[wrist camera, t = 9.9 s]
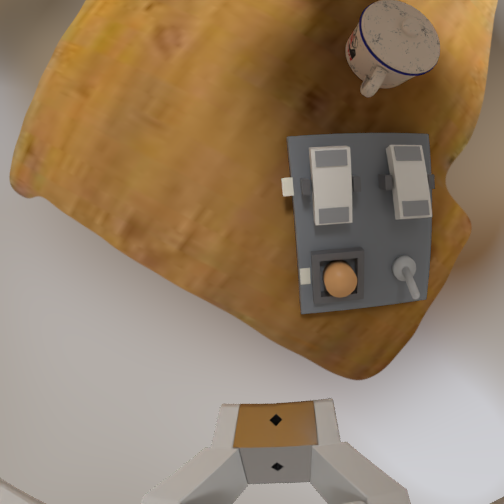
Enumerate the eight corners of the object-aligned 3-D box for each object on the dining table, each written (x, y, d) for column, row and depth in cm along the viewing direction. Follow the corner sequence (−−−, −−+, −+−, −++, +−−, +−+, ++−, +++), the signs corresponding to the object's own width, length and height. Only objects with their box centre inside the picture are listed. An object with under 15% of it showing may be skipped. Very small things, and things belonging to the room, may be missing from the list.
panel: (277, 139, 35) (277, 133, 27) (418, 135, 33) (449, 131, 25) (291, 304, 41) (294, 336, 33) (417, 290, 39) (442, 317, 31)
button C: (321, 261, 35) (325, 268, 33) (352, 258, 35) (357, 265, 32) (322, 290, 36) (325, 298, 34) (352, 287, 36) (356, 295, 33)
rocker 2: (385, 148, 31) (390, 144, 29) (416, 148, 31) (422, 144, 29) (395, 219, 31) (400, 218, 29) (426, 217, 31) (432, 216, 29)
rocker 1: (308, 147, 30) (310, 149, 29) (346, 145, 30) (350, 147, 28) (313, 220, 34) (315, 226, 32) (348, 217, 33) (352, 223, 32)
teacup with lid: (358, 16, 29) (385, -27, 18) (418, 53, 29) (462, 25, 18) (320, 84, 32) (339, 54, 21) (385, 122, 33) (427, 111, 22)
